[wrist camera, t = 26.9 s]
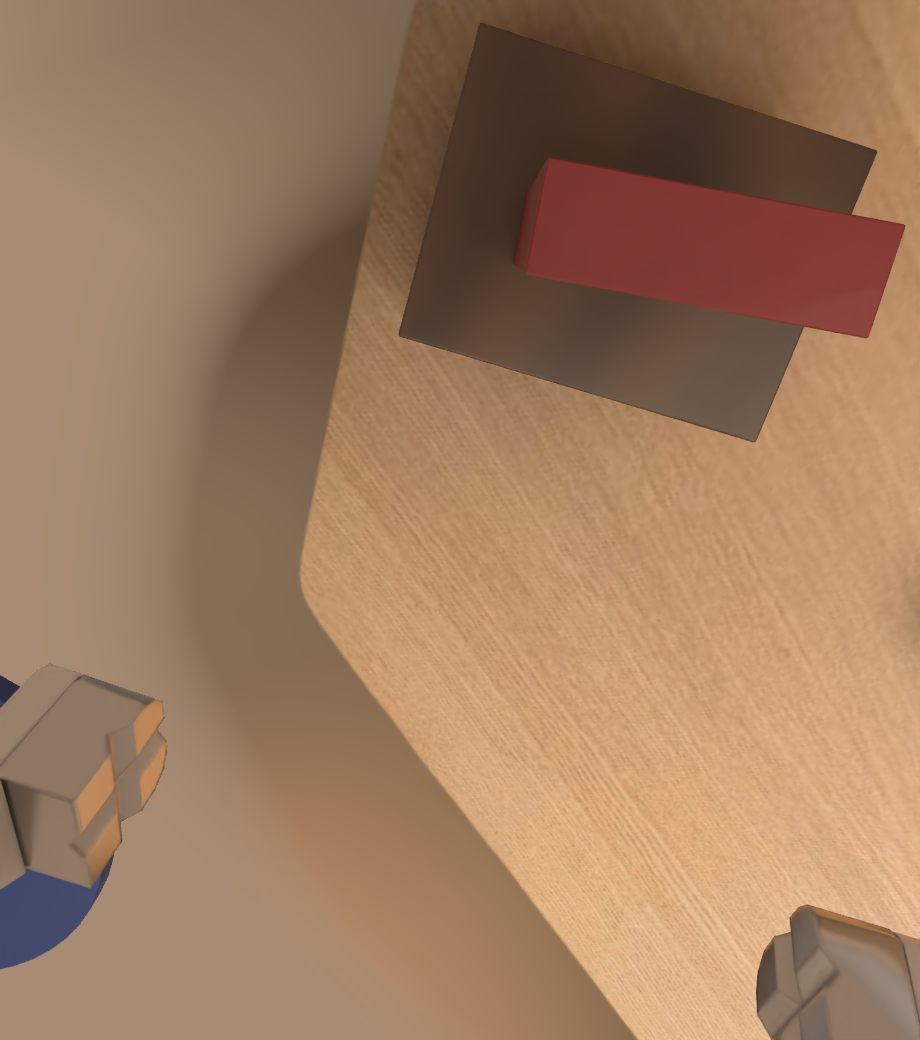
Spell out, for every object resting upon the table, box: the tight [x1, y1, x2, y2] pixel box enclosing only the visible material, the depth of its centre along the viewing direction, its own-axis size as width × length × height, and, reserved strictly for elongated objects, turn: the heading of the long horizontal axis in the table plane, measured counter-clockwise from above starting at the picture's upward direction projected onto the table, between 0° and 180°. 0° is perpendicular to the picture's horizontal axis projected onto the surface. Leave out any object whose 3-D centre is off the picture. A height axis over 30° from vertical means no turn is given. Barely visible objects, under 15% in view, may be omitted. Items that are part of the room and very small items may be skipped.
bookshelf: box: [399, 23, 877, 442], centre depth 39 cm, size 16×12×14 cm
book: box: [513, 157, 905, 338], centre depth 26 cm, size 9×3×13 cm, turn 80°
